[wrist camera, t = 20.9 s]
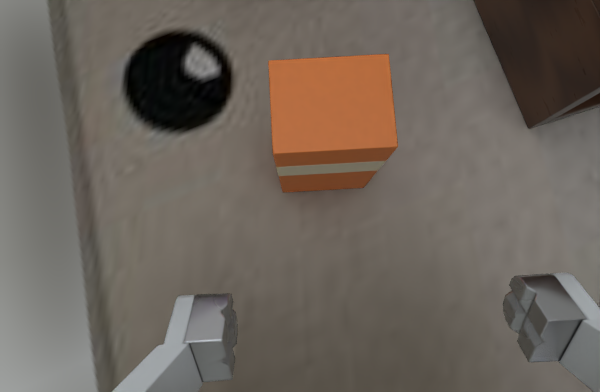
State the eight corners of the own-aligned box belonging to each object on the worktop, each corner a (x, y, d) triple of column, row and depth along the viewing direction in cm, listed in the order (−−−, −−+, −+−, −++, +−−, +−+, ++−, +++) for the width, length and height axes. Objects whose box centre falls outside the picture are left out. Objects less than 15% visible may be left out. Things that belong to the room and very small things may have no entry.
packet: (364, 188, 25) (398, 147, 16) (282, 192, 25) (272, 154, 16) (358, 125, 26) (389, 52, 17) (279, 130, 26) (267, 59, 17)
